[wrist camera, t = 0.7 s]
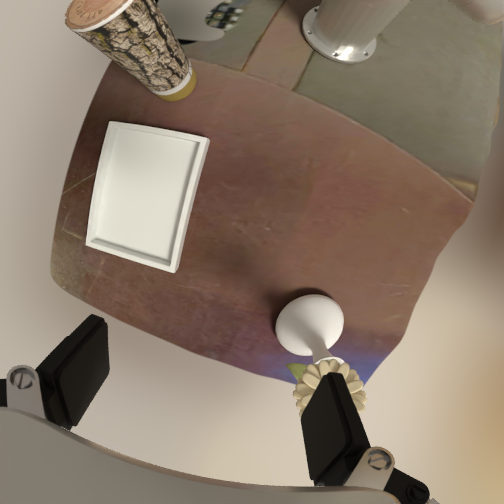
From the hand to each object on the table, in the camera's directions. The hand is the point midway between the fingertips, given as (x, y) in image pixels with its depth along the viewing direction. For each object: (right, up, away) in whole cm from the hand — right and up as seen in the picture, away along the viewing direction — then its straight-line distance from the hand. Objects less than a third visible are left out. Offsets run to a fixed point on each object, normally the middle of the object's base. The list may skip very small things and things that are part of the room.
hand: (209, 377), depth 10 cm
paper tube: (-10, +31, +25) cm, 41 cm away
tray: (-15, +14, +29) cm, 35 cm away
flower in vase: (+11, -6, +34) cm, 36 cm away
